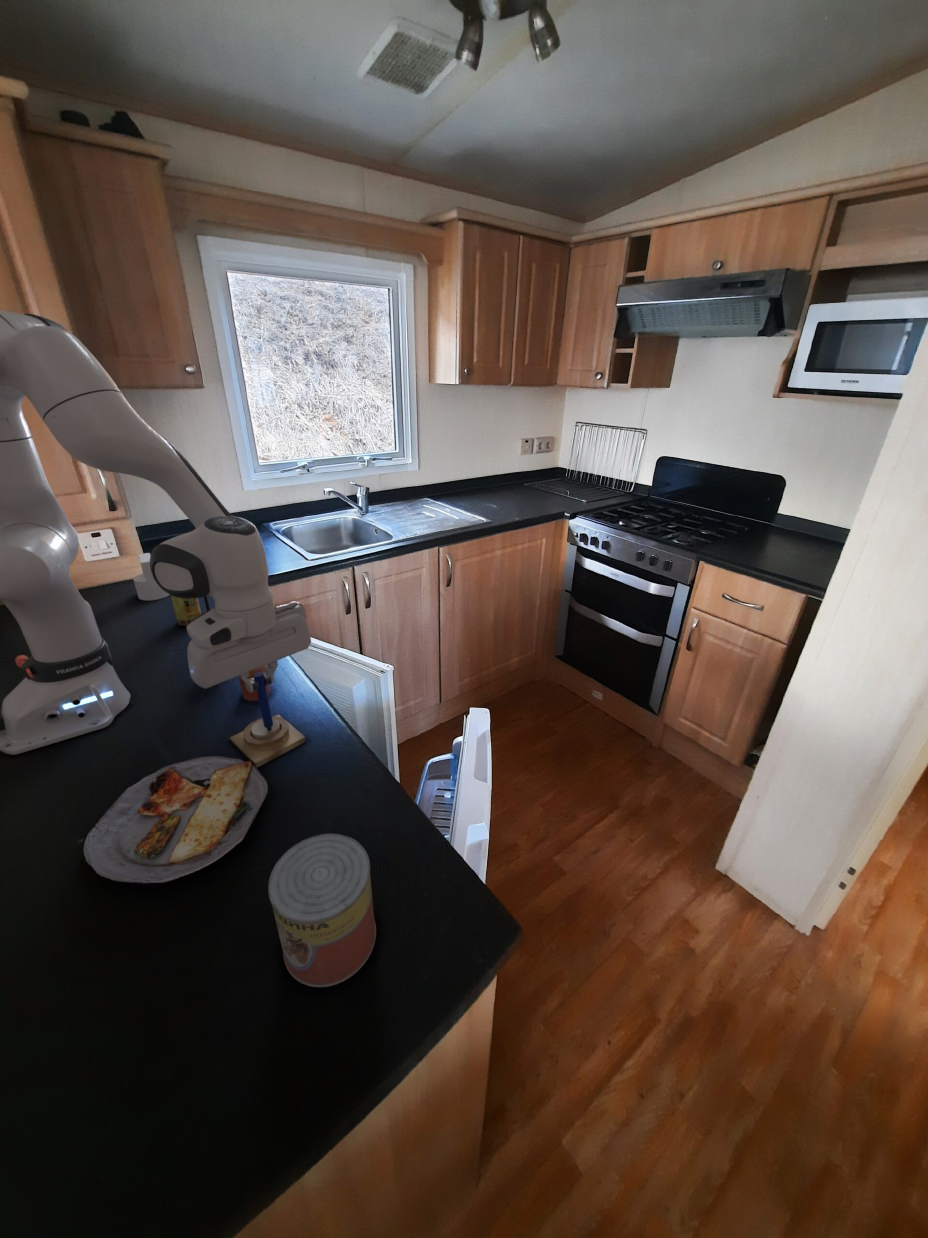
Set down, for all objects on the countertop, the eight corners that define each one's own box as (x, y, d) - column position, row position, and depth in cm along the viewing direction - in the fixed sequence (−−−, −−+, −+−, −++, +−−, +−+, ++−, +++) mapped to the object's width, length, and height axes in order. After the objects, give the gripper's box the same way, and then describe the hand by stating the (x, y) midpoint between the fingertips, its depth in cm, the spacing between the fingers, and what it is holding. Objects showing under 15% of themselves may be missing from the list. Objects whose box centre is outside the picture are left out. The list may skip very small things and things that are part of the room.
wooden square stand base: (256, 768, 90) (253, 755, 88) (230, 742, 96) (227, 729, 94) (306, 741, 96) (304, 729, 95) (279, 719, 102) (277, 706, 101)
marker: (267, 733, 93) (256, 678, 87) (263, 729, 94) (251, 674, 88) (275, 729, 94) (264, 674, 89) (271, 725, 95) (260, 671, 90)
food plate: (158, 762, 91) (153, 746, 89) (287, 766, 90) (284, 751, 89) (53, 890, 68) (44, 873, 67) (223, 897, 68) (218, 880, 66)
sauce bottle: (192, 628, 137) (175, 558, 128) (172, 626, 138) (153, 556, 129) (208, 618, 143) (192, 550, 134) (188, 615, 144) (172, 548, 135)
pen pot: (251, 706, 106) (244, 674, 103) (238, 695, 110) (231, 663, 106) (276, 694, 110) (271, 663, 106) (263, 684, 113) (257, 653, 110)
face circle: (260, 745, 92) (259, 739, 91) (247, 733, 95) (246, 726, 94) (285, 733, 95) (284, 726, 95) (272, 721, 98) (271, 715, 98)
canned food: (263, 953, 62) (246, 888, 56) (330, 881, 70) (321, 819, 65) (330, 1008, 56) (318, 943, 51) (394, 924, 65) (389, 860, 60)
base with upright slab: (173, 596, 155) (164, 559, 150) (139, 602, 151) (128, 564, 146) (169, 586, 162) (160, 550, 157) (137, 592, 158) (126, 555, 152)
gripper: (293, 593, 92) (303, 658, 98) (175, 629, 79) (194, 703, 85) (313, 603, 88) (321, 670, 95) (191, 643, 75) (210, 719, 81)
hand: (260, 686), depth 90 cm, fingers closed on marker, 1 cm apart
